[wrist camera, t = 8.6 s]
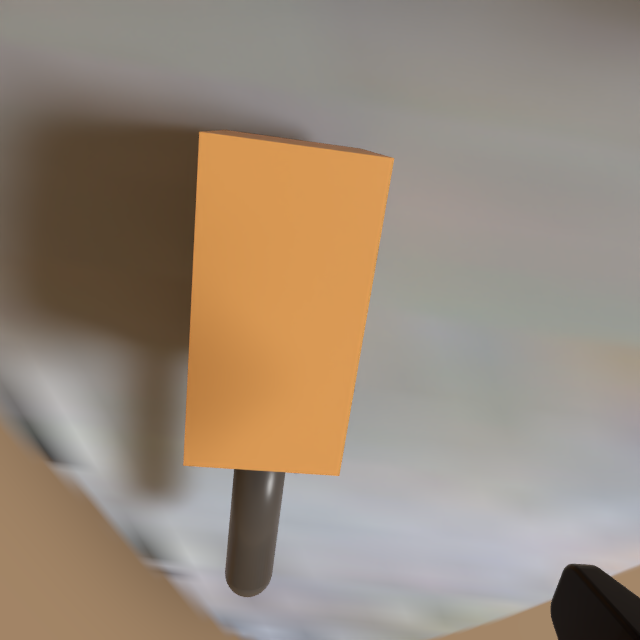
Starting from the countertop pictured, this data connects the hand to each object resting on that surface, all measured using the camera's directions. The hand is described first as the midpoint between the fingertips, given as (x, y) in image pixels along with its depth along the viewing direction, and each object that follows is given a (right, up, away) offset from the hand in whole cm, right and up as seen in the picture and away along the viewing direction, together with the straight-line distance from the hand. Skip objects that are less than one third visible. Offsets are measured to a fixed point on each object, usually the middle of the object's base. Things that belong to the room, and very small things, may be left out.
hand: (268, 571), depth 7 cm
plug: (-1, +2, +10) cm, 11 cm away
